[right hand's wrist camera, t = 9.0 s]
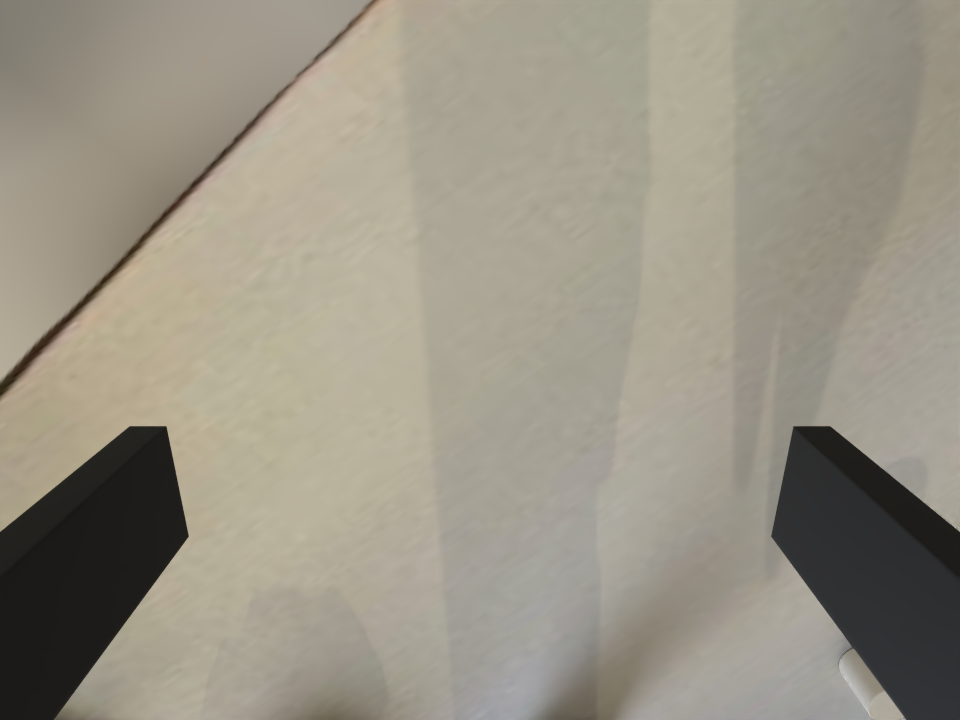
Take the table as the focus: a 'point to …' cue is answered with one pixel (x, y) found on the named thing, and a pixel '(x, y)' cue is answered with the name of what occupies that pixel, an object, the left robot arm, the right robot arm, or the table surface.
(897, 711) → the can
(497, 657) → the table surface
